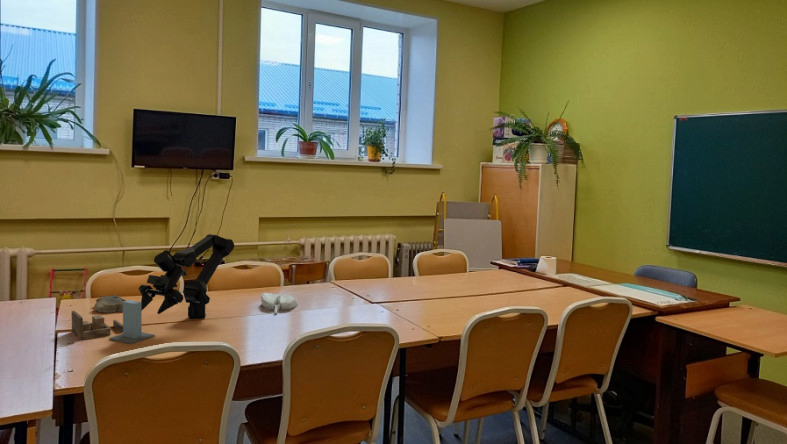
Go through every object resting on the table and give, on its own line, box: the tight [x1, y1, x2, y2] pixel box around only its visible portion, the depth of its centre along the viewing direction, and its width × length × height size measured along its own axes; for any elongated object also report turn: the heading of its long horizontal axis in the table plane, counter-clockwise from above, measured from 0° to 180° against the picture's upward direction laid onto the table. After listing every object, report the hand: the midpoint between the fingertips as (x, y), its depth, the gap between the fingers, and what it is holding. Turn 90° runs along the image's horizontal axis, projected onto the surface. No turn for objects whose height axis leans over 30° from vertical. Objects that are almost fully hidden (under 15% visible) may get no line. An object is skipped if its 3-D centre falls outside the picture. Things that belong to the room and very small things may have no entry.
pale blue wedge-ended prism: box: [122, 299, 143, 338], centre depth 214 cm, size 3×6×13 cm, turn 67°
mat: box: [108, 331, 156, 345], centre depth 215 cm, size 11×11×1 cm
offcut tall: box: [91, 314, 105, 330], centre depth 220 cm, size 3×5×6 cm, turn 41°
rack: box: [71, 310, 123, 340], centre depth 220 cm, size 15×12×8 cm
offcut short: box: [83, 320, 91, 332], centre depth 217 cm, size 3×5×4 cm, turn 42°
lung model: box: [260, 292, 298, 316], centre depth 266 cm, size 7×17×25 cm
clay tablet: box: [94, 294, 127, 314], centre depth 257 cm, size 14×5×20 cm
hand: (149, 311), depth 222 cm, fingers open, 9 cm apart
